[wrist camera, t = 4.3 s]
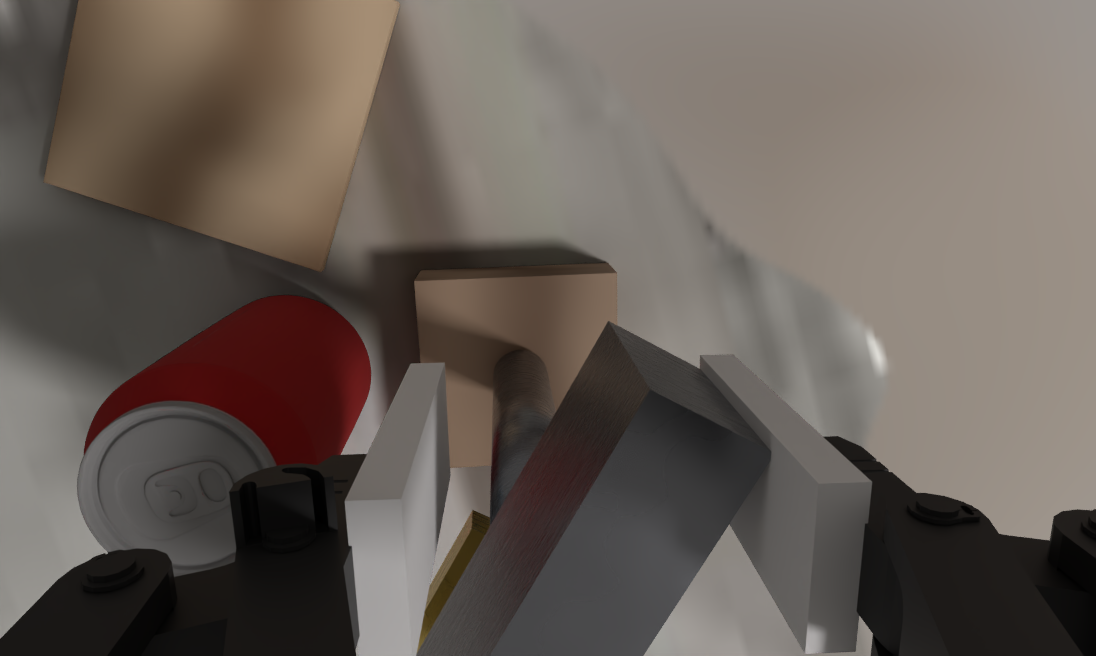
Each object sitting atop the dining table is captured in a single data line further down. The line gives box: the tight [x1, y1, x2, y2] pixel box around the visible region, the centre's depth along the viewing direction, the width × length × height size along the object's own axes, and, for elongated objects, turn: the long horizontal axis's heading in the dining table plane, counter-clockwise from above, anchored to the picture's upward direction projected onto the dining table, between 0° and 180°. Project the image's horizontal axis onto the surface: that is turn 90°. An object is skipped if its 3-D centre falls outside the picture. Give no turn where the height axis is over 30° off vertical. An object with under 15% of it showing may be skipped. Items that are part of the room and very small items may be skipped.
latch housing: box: [414, 263, 617, 468], centre depth 31 cm, size 8×8×2 cm
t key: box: [416, 321, 771, 656], centre depth 21 cm, size 16×2×17 cm, turn 151°
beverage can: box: [77, 295, 371, 577], centre depth 26 cm, size 7×7×12 cm
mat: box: [44, 0, 400, 272], centre depth 28 cm, size 11×11×1 cm
